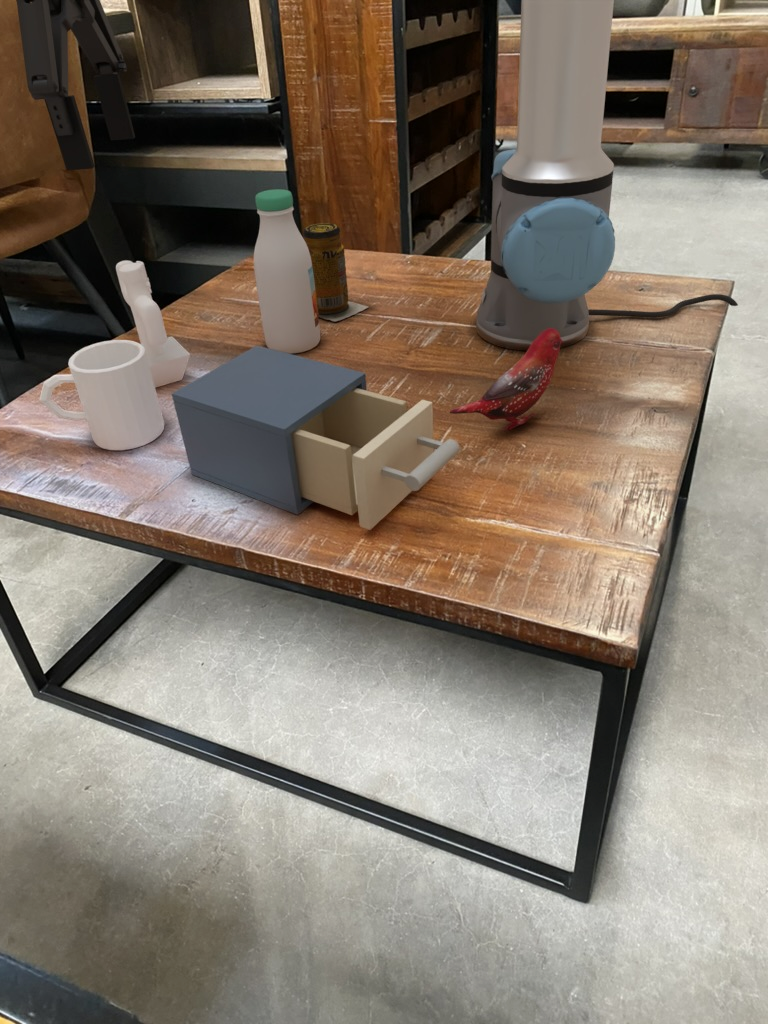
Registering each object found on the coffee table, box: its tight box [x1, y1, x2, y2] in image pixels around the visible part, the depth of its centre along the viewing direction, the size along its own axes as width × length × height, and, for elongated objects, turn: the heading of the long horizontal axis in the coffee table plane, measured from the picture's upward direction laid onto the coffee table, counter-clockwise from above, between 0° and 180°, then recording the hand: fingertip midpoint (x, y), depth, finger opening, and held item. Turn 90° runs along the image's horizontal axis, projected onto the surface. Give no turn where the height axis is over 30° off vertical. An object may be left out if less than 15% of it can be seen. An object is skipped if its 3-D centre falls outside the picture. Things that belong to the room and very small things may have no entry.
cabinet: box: [171, 345, 368, 516], centre depth 79 cm, size 15×13×10 cm
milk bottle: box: [253, 188, 321, 355], centre depth 101 cm, size 8×8×20 cm
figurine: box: [115, 259, 191, 389], centre depth 96 cm, size 7×9×15 cm
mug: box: [39, 339, 165, 451], centre depth 86 cm, size 8×12×10 cm
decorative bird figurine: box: [449, 328, 563, 433], centre depth 81 cm, size 3×18×10 cm, turn 132°
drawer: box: [291, 388, 461, 531], centre depth 74 cm, size 18×11×8 cm, turn 56°
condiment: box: [302, 222, 369, 322], centre depth 113 cm, size 7×8×12 cm
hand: (103, 153), depth 83 cm, fingers open, 13 cm apart
